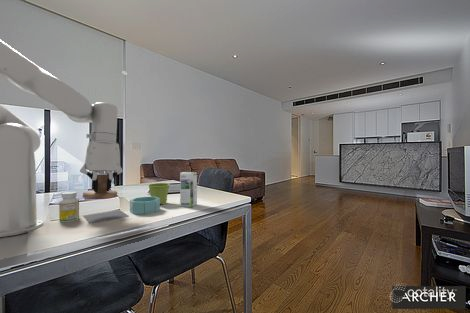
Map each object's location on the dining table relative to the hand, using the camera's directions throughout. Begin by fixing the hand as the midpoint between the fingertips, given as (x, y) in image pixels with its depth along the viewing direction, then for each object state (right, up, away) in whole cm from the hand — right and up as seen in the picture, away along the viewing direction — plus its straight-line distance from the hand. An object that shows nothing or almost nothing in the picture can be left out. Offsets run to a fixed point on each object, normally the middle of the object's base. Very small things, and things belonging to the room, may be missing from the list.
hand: (101, 190), depth 78 cm
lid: (-1, -2, +1) cm, 2 cm away
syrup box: (+27, -10, +19) cm, 34 cm away
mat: (+1, -10, +1) cm, 10 cm away
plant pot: (+13, -10, +22) cm, 27 cm away
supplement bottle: (-9, -10, -3) cm, 14 cm away
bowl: (+12, -10, +8) cm, 17 cm away
